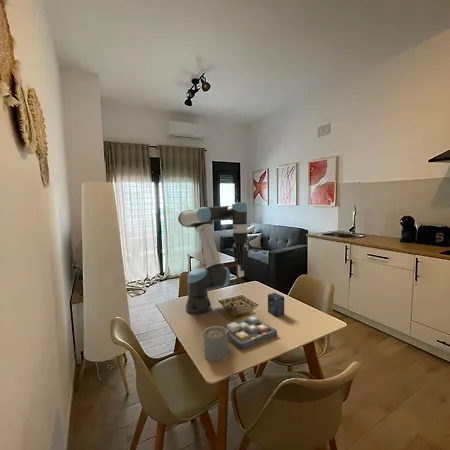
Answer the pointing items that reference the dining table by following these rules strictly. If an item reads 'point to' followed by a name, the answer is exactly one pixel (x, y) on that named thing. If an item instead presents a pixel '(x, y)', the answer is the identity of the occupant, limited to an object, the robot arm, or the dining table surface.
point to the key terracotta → (263, 328)
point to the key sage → (243, 326)
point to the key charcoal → (252, 329)
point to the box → (276, 304)
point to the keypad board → (251, 336)
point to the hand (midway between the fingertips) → (241, 276)
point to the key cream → (233, 327)
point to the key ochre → (242, 336)
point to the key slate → (253, 320)
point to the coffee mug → (216, 343)
